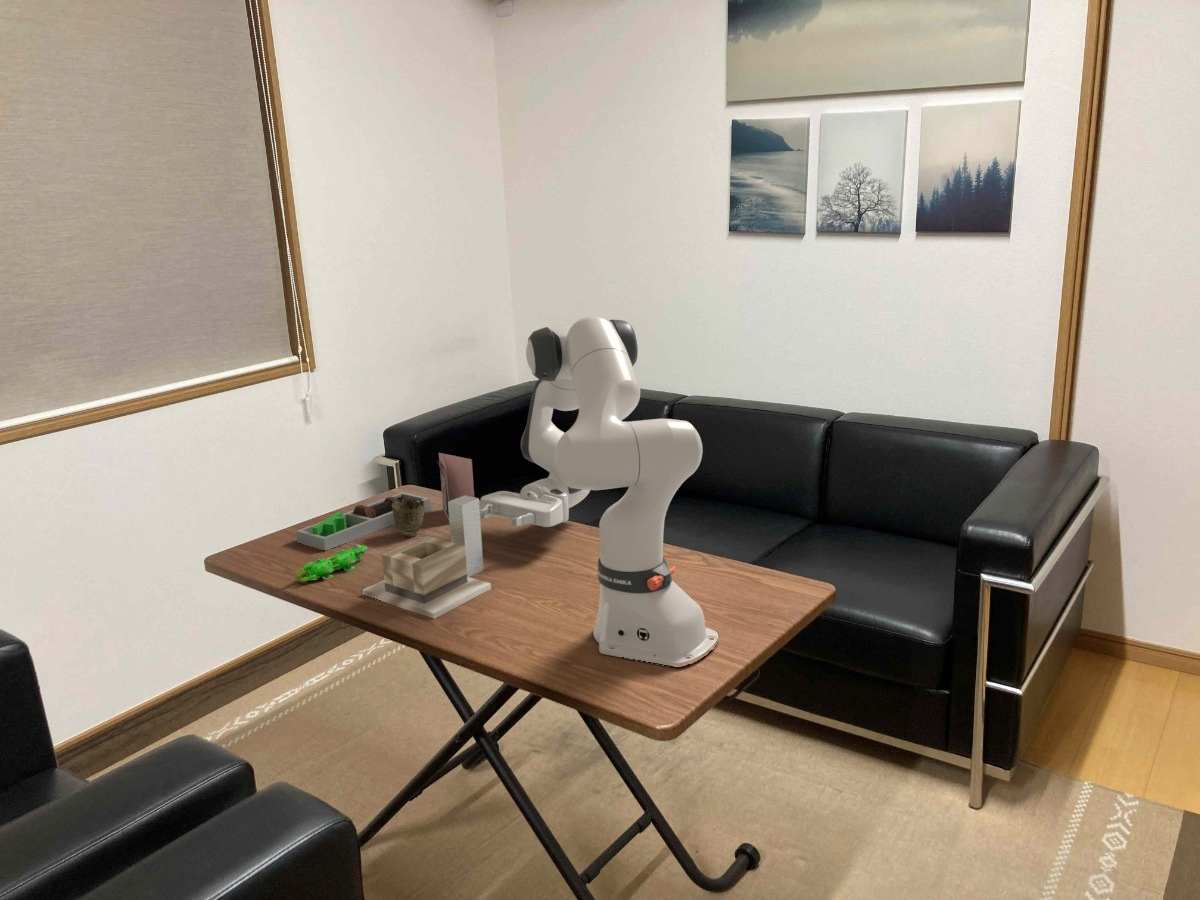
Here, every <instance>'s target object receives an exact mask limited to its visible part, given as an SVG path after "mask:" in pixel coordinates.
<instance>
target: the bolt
mask: <svg viewBox="0 0 1200 900" xmlns="http://www.w3.org/2000/svg"><path fill="white" fill-rule="evenodd" d="M384 499H385V498H384ZM403 499H404V500H405V502H406V500H407V499H406V498H404V497H402V496H401V497H398V498H395V497H390V496H388V497H386V499H385V501H384V502H383V503H380V504H377V505H374V506H371V507H367V506H366V505H362V504H358V505H356V506H355V507H354V509H353V510H354V511H353V514H356V515H360V516H364V517H368V518H372V519H373V518H376V517H378V516H381V515H383V514H386V513H389V512H391V511H393V510H392V506H391V505H392V503H393V504H394V502H395V501H396V502H397V501H398V500H399V501H400V502H401V503H402V500H403Z"/></svg>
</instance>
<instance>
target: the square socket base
mask: <svg viewBox="0 0 1200 900" xmlns="http://www.w3.org/2000/svg"><path fill="white" fill-rule="evenodd" d="M381 559H382V560H381V561H382V568H383V569H382V570H383V580H381V581H379V582H377V583H374V584H371V585H370V586H367V587H366V588H363V589H362V595H363V594H364V595H367V596H370V597H372V598H371V599H373V598H375V599H374V600H376V599H378V600H377V601H379V600H381V601H380V602H382V601H383V603H385V602H386V603H385V604H388V605H392V606H394V607H397V608H401V609H403V610H406V611H410V612H412V613H416V614H417V615H418V614H419V615H422V616H425V617H427V618H430V619H431V618H432V619H434V620H435V619H436V618H438V617H441V616H442V615H444V614H446V613H448V612H449V611H452V610H453V609H456V608H457V607H459V606H461V605H464V604H465V603H467V602H469V601H471V600H473V599H476V597H479V596H480V595H483V594H484V593H486V592H488V591H490V590H492V583H490V582H487V581H485V580H484V581H483V580H480V579H477V578H475V577H474V578H473V577H471V576H470V577H467V567H466V553H465V546H463V545H459V544H455V543H451V541H447V540H443V539H440V538H436V537H431V536H427V535H425V536H423V537H420V538H417V539H416V540H413V541H410V542H408V543H407V544H406V543H405V544H404V545H402V546H399V547H396V548H394V549H392V550H390V551H389V550H388V551H387V552H385V553H383V554H381ZM364 595H363V596H364ZM367 596H366V597H367ZM370 597H369V598H370Z"/></svg>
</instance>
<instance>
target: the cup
mask: <svg viewBox="0 0 1200 900" xmlns="http://www.w3.org/2000/svg"><path fill="white" fill-rule="evenodd" d="M391 506H392V510H393V515H394V519H395V523H396V524H395V525H396V527H397V528H398V529H399V530H400V531H401V534H402V535H403V536H404V537H406V538H411V537H412V538H413V537H415V536H418V534H419V530H418V529H420V527H421V526H422V525H423V523H424V514H425V512H424V501H422V500H421V499H420V501H419V502H416V501H415V499H413V500H412V499H411V498H408V499H407V500H406V502H405V500H404V499H403V500H402V503H401V502H400V501H399V500H398V501H397V502H396V501H395V502H394V504H393V503H392V505H391Z"/></svg>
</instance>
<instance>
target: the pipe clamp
mask: <svg viewBox="0 0 1200 900" xmlns="http://www.w3.org/2000/svg"><path fill="white" fill-rule="evenodd" d="M342 514H343V512H342V511H337V512H335V513H334V514H332V515H331V516H330V517H328V518H326V519H324V520H322V521H323V522H322V521H320V522H321V523H320V524H318V525H316V526H315V527H313V528H312V530H313V534H317V535H320V536H324V537H326V536H328V535H331V534H334V533H336V532H339V531H341V530H344V529H347V528H348V527H347V526H346V518H345V517H343V515H342Z"/></svg>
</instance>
